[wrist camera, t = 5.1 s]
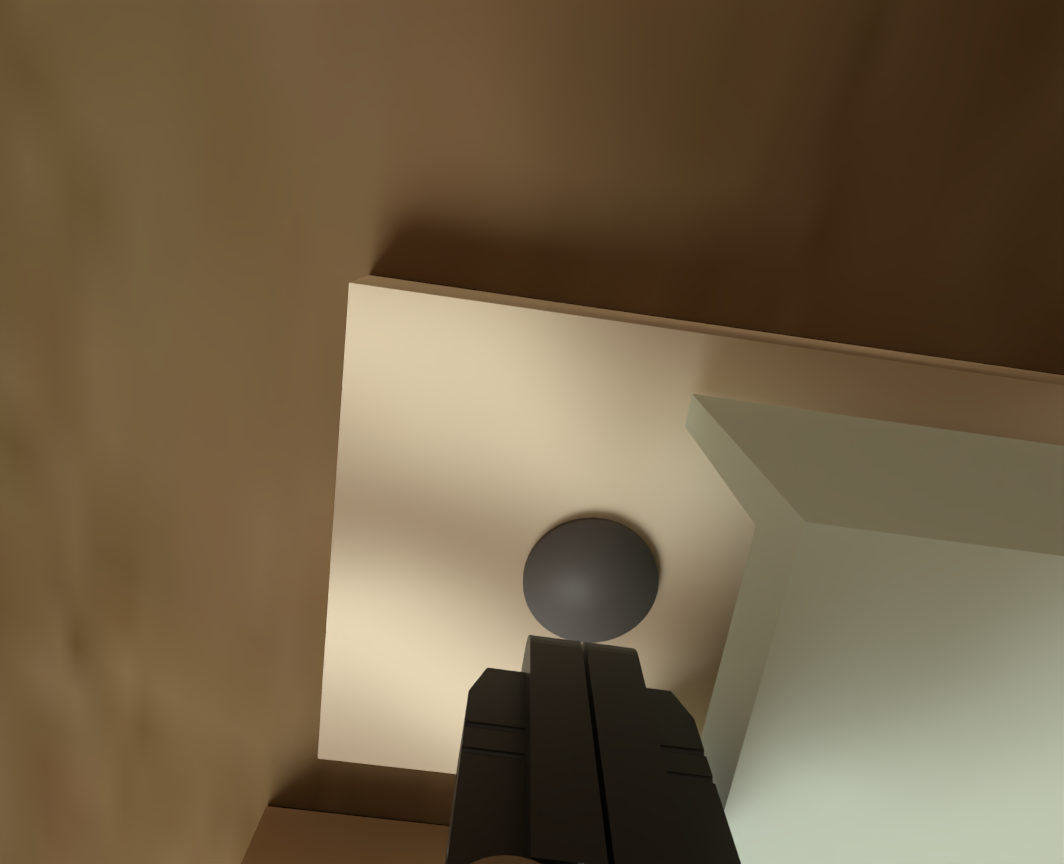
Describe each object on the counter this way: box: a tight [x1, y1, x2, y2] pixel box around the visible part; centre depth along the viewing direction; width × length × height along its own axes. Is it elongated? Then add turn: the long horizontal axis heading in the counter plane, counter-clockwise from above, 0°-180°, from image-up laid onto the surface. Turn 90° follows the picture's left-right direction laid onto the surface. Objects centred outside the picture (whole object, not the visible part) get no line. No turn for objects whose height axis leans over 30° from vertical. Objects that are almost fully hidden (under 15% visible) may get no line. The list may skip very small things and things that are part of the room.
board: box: [318, 275, 1064, 774], centre depth 14 cm, size 10×15×4 cm, turn 82°
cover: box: [685, 394, 1064, 864], centre depth 11 cm, size 8×10×5 cm
